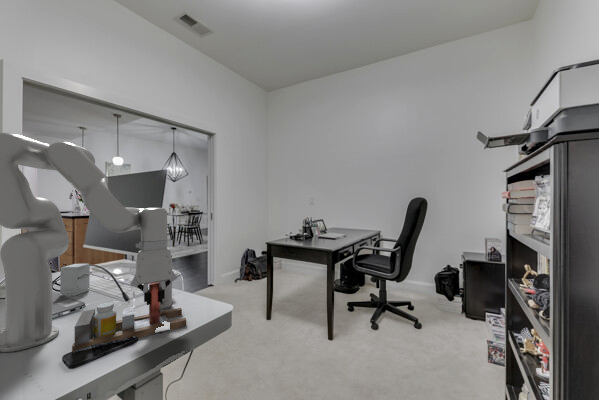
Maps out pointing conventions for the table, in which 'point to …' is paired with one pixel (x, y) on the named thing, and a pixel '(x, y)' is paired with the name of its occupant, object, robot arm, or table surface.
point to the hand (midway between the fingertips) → (154, 301)
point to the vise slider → (154, 312)
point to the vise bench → (86, 328)
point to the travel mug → (166, 297)
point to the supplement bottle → (104, 320)
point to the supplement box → (74, 279)
